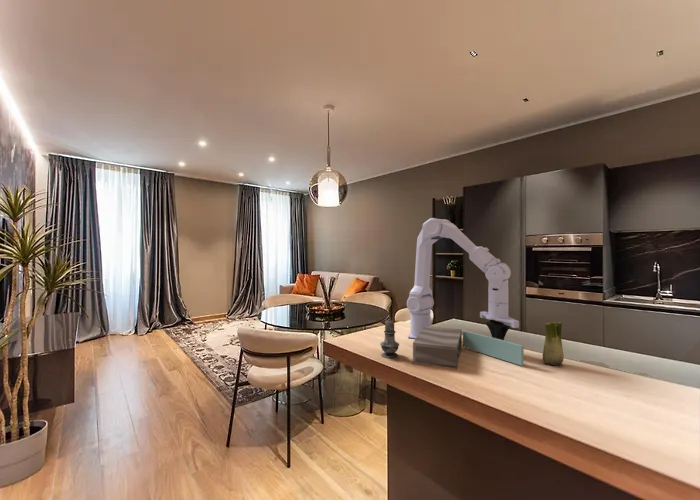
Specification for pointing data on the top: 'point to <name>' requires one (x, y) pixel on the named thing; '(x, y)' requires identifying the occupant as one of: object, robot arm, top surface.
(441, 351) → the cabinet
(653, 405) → the top surface
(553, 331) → the fennel bulb
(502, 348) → the door
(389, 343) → the salt shaker
